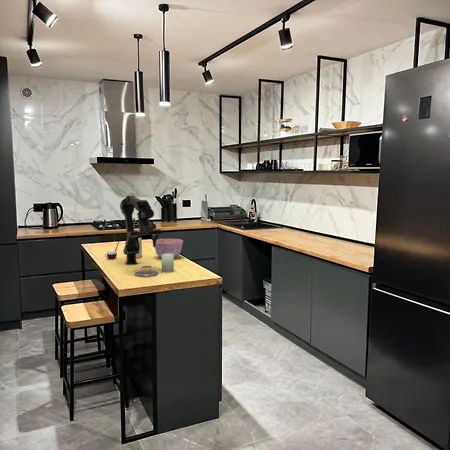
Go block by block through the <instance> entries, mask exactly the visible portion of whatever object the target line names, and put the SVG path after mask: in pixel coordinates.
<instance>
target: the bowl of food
mask: <svg viewBox="0 0 450 450" xmlns="http://www.w3.org/2000/svg"><path fill="white" fill-rule="evenodd" d="M183 243H184V240H183V239H180V238H159V239H158V238H157V240H156V244H155V247H154V250H155V253H156V255H157V256H158V257H160V258H161V254H164V253H172V254H174V259H175V258H176V257H179V255H180V254H181V252H182V249H183Z"/></svg>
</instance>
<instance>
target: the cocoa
mask: <svg viewBox="0 0 450 450" xmlns="http://www.w3.org/2000/svg"><path fill="white" fill-rule="evenodd" d="M119 243H120V241H119V240H117V244H116V247H115V249H112V248H111V249H108V251H106V253H105V255H104V257H105V258H107V259H109V260H115V259H116V258H117V254H118V251H117V249H118V246H119Z"/></svg>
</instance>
